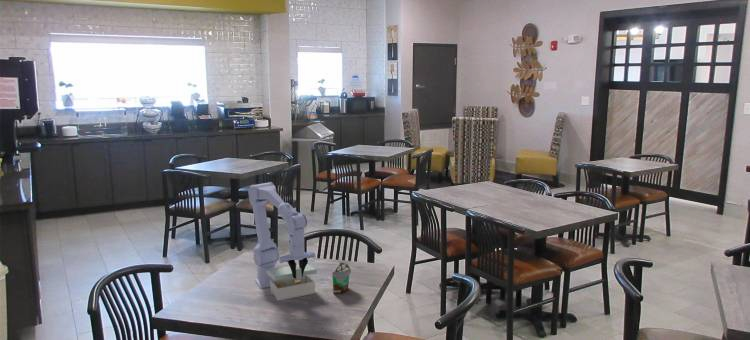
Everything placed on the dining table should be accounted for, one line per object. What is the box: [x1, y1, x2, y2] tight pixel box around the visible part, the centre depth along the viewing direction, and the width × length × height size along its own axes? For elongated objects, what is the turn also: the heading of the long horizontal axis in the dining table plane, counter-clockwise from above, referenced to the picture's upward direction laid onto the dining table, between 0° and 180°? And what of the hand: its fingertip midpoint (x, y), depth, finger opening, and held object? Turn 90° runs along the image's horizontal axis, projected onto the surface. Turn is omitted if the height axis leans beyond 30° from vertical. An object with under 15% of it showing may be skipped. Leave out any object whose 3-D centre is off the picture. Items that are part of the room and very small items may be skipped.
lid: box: [267, 262, 317, 281], centre depth 218 cm, size 15×18×4 cm
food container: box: [331, 262, 352, 295], centre depth 224 cm, size 12×6×10 cm, turn 168°
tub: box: [269, 275, 316, 301], centre depth 222 cm, size 10×16×5 cm, turn 117°
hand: (297, 276), depth 213 cm, fingers closed on lid, 2 cm apart
